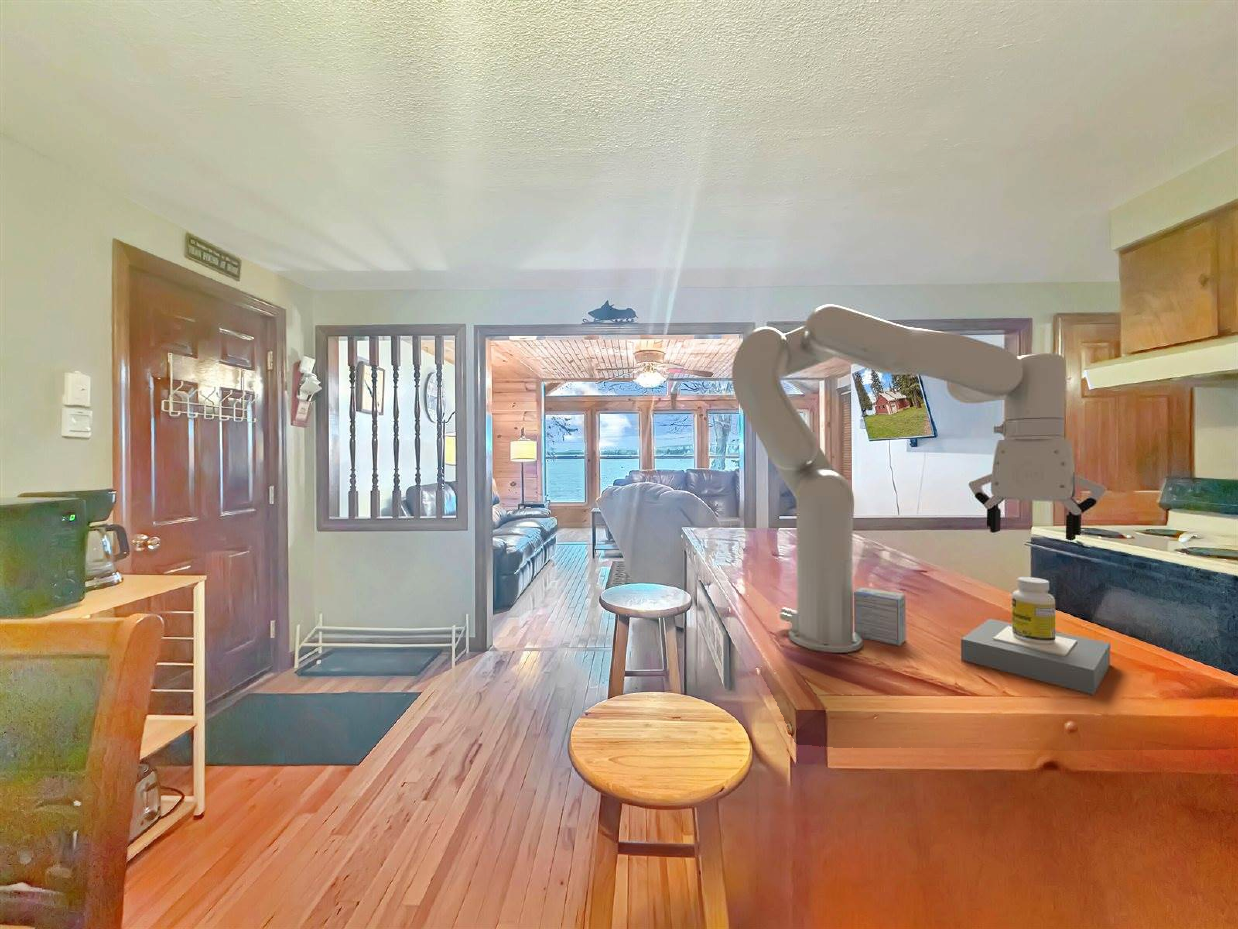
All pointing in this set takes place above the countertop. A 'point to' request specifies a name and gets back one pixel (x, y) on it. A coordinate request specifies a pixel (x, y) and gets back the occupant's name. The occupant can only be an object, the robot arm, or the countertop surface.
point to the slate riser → (1039, 656)
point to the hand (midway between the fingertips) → (1031, 535)
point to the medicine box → (880, 615)
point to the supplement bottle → (1033, 611)
